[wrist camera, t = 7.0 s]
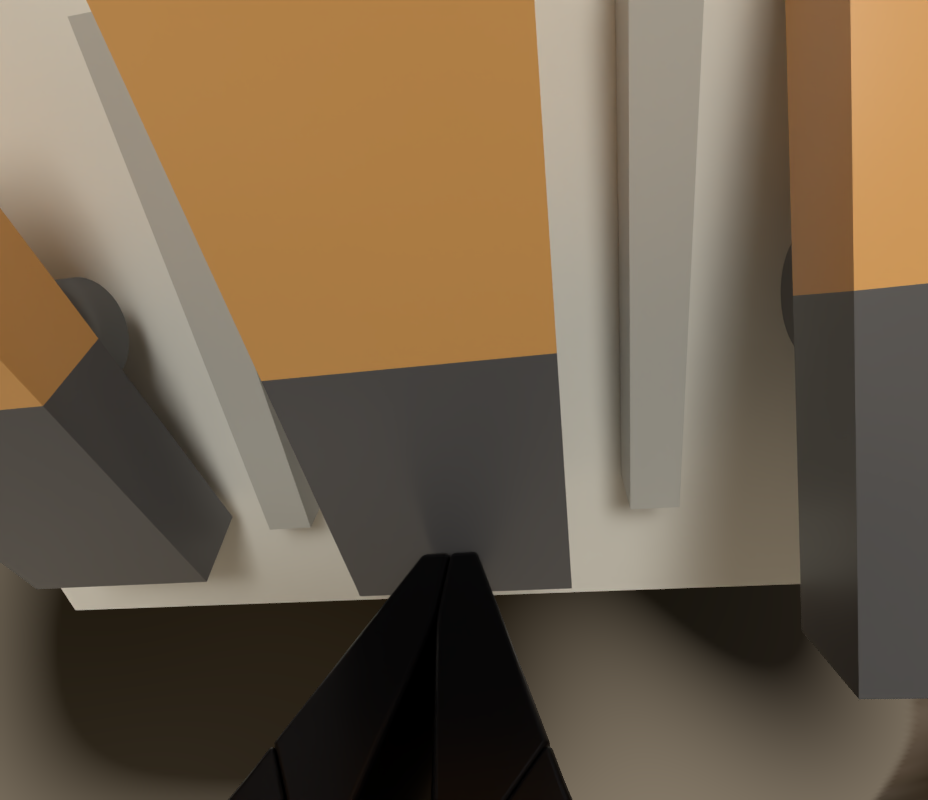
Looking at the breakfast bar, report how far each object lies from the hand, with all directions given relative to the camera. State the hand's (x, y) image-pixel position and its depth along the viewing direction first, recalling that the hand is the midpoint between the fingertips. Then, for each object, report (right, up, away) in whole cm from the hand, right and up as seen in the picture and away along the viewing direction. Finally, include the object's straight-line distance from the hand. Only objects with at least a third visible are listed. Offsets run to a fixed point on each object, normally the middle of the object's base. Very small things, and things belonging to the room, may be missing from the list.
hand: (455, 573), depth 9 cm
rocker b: (0, +4, 0) cm, 4 cm away
